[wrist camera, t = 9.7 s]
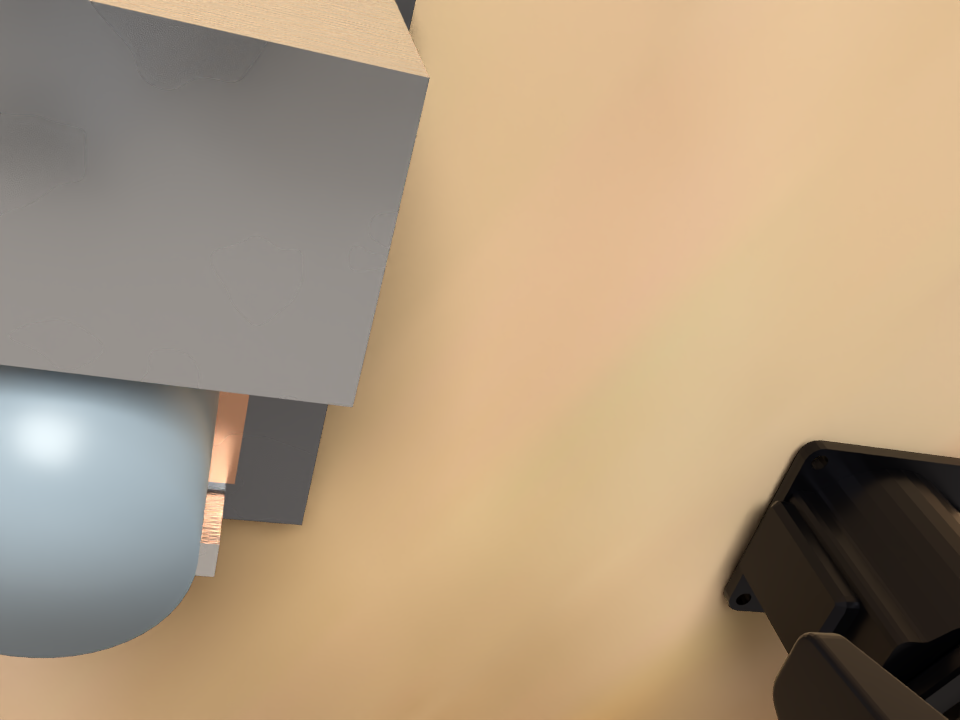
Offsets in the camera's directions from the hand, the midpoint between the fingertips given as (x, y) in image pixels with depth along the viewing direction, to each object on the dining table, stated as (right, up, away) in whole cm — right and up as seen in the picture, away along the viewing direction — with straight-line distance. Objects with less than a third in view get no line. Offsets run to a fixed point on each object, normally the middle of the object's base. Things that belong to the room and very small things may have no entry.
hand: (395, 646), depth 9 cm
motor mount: (-7, +5, +11) cm, 14 cm away
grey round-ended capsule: (-7, +3, +10) cm, 13 cm away
